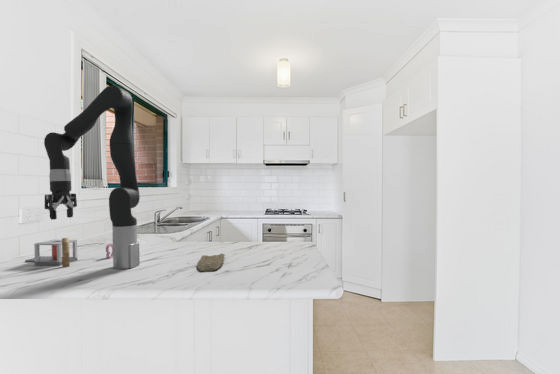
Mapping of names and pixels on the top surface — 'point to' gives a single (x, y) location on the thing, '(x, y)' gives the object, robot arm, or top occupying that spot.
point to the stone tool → (210, 262)
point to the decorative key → (108, 251)
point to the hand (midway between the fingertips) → (62, 218)
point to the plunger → (54, 252)
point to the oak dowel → (65, 252)
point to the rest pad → (40, 258)
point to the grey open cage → (59, 253)
